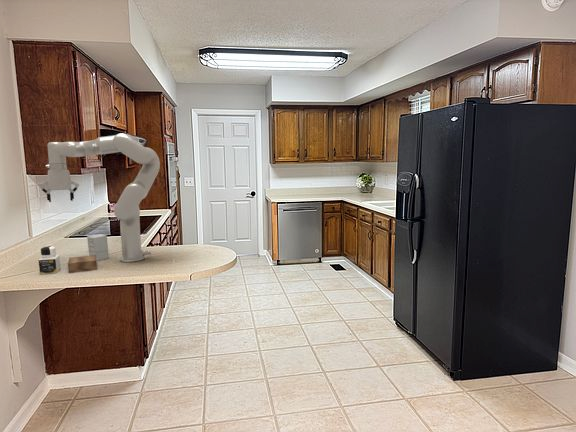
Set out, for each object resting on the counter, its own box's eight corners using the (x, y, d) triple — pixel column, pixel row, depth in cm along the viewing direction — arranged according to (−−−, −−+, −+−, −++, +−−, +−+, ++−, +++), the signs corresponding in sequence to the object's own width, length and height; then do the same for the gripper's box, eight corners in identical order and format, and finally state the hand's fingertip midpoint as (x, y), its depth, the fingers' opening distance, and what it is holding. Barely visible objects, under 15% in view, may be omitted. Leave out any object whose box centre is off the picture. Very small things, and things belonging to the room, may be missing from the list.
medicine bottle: (39, 274, 188) (36, 249, 186) (44, 270, 195) (41, 246, 193) (56, 273, 190) (54, 248, 188) (60, 269, 196) (58, 244, 195)
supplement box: (102, 256, 220) (100, 233, 218) (109, 258, 216) (107, 235, 214) (88, 259, 215) (86, 235, 213) (95, 261, 210) (93, 237, 208)
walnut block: (96, 264, 205) (96, 254, 204) (97, 270, 194) (96, 260, 194) (70, 267, 200) (69, 257, 199) (68, 273, 189) (67, 263, 188)
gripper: (38, 167, 194) (41, 203, 196) (78, 167, 203) (80, 200, 206) (37, 167, 200) (40, 201, 202) (76, 166, 209) (79, 199, 212)
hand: (60, 201), depth 204 cm, fingers open, 9 cm apart
